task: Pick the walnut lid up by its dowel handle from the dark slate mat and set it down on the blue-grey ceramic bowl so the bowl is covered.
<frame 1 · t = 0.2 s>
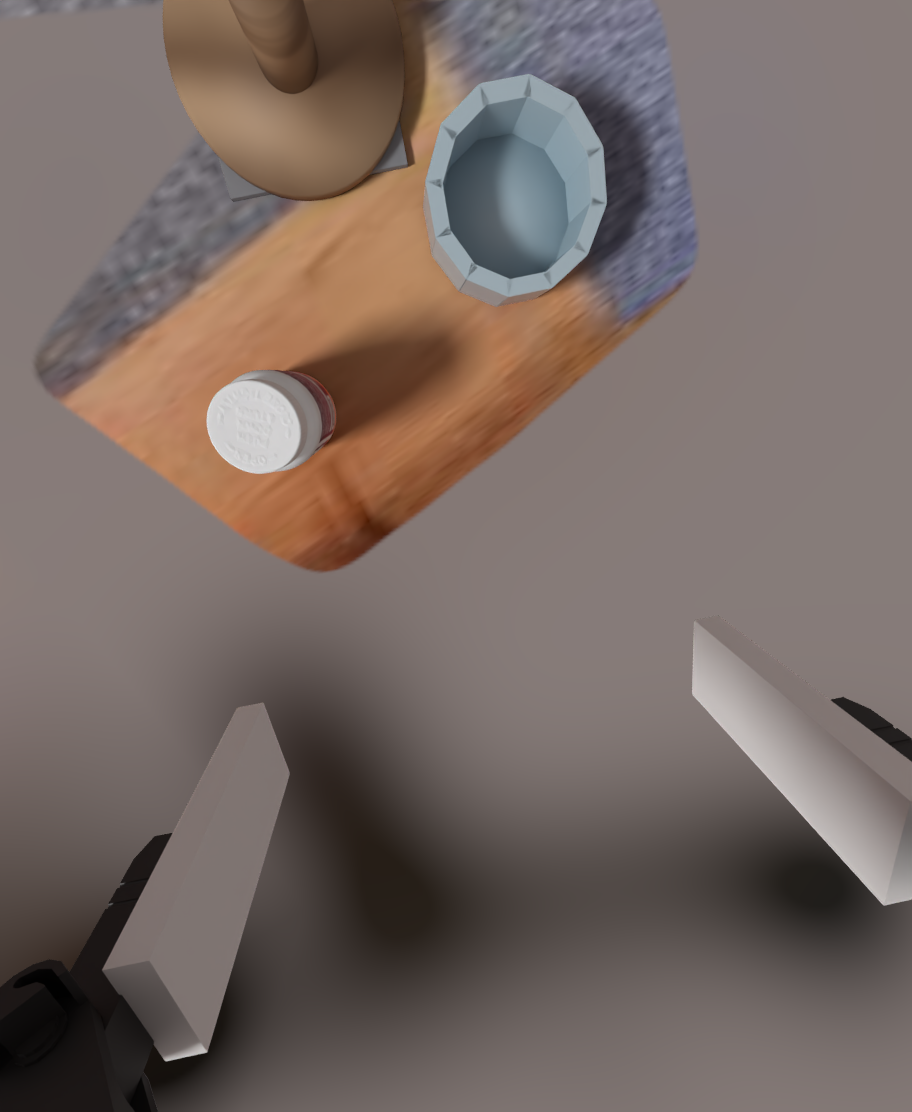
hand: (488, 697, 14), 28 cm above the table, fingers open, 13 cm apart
pill bottle: (297, 413, 37), on the table
lid: (291, 66, 30), resting on mat
mat: (292, 70, 30), on the table
bowl: (502, 218, 34), on the table
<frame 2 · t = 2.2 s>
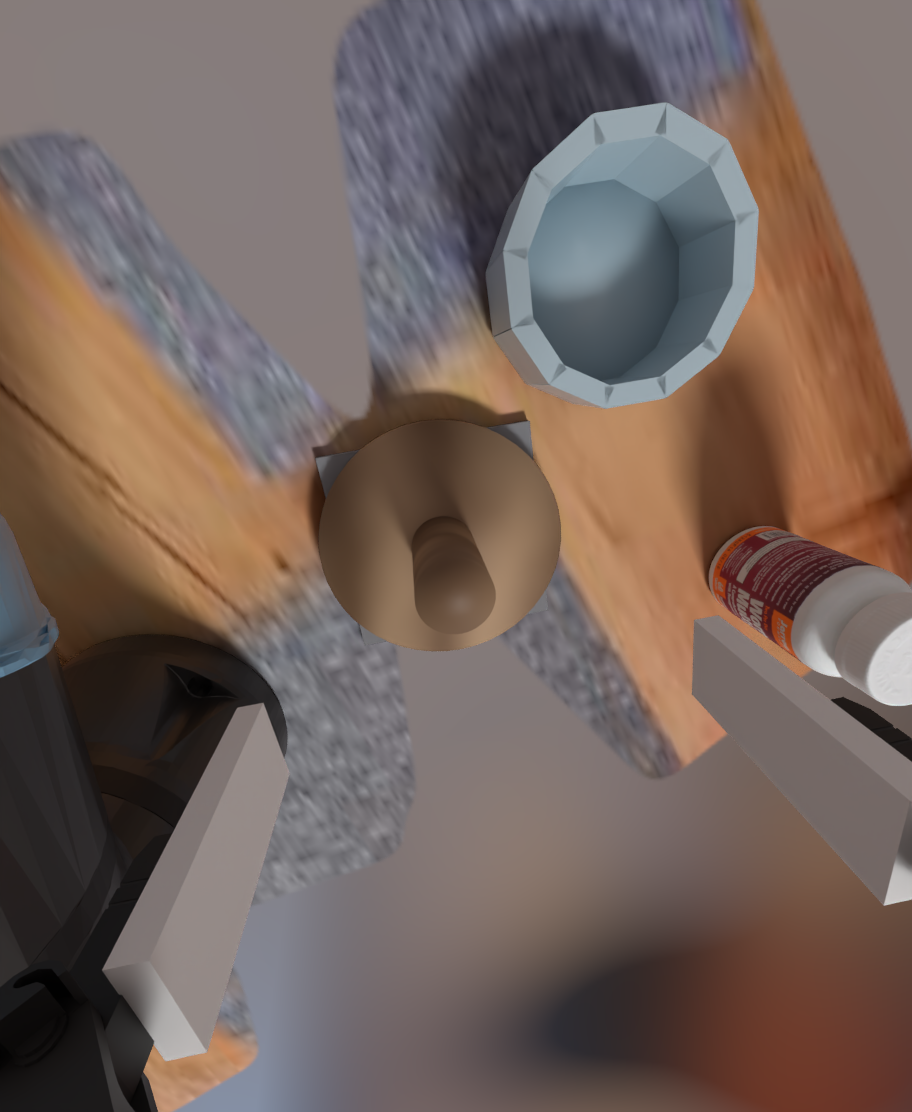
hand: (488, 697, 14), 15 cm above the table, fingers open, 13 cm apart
pill bottle: (747, 566, 32), on the table
lid: (441, 540, 28), resting on mat
mat: (441, 538, 29), on the table
bowl: (590, 290, 25), on the table
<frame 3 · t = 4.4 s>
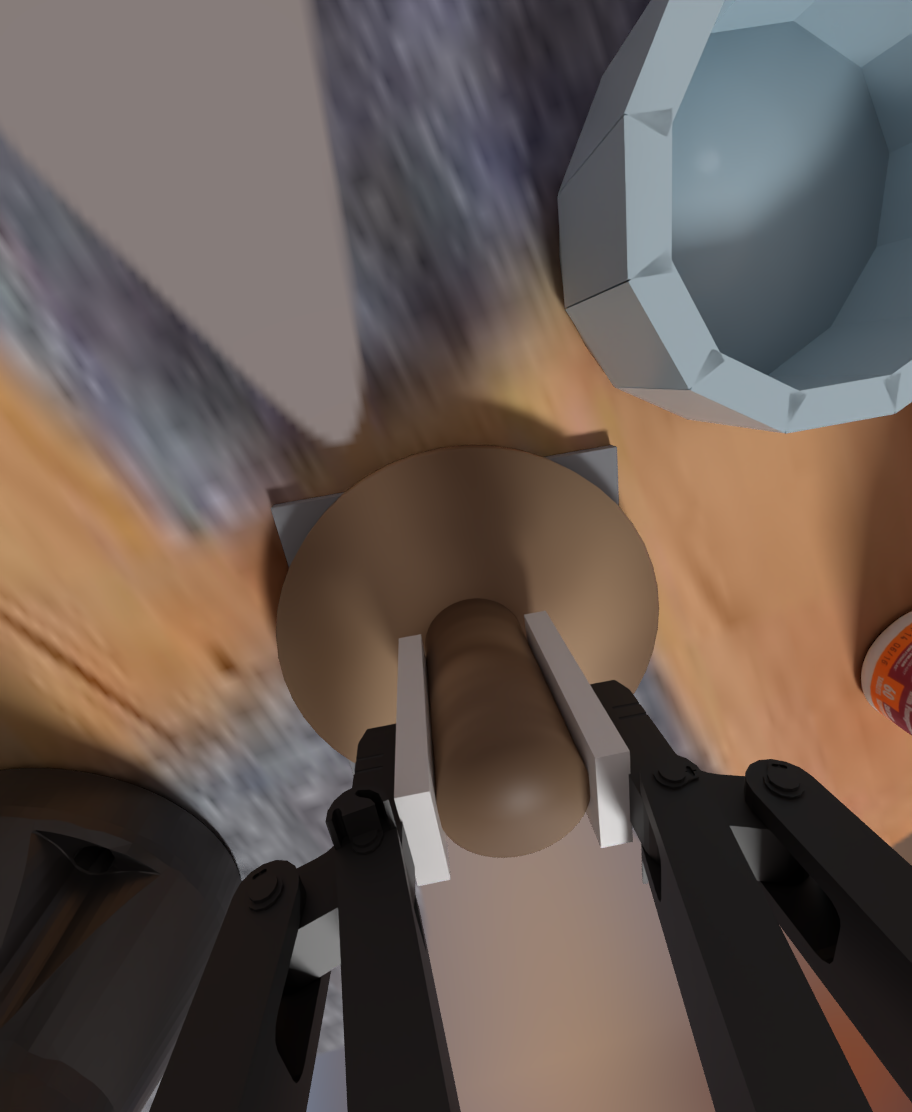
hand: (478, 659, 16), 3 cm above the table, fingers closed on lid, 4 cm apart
lid: (470, 629, 18), point 1 cm above the table, touching gripper, mat
mat: (469, 623, 19), on the table
bowl: (727, 230, 15), on the table
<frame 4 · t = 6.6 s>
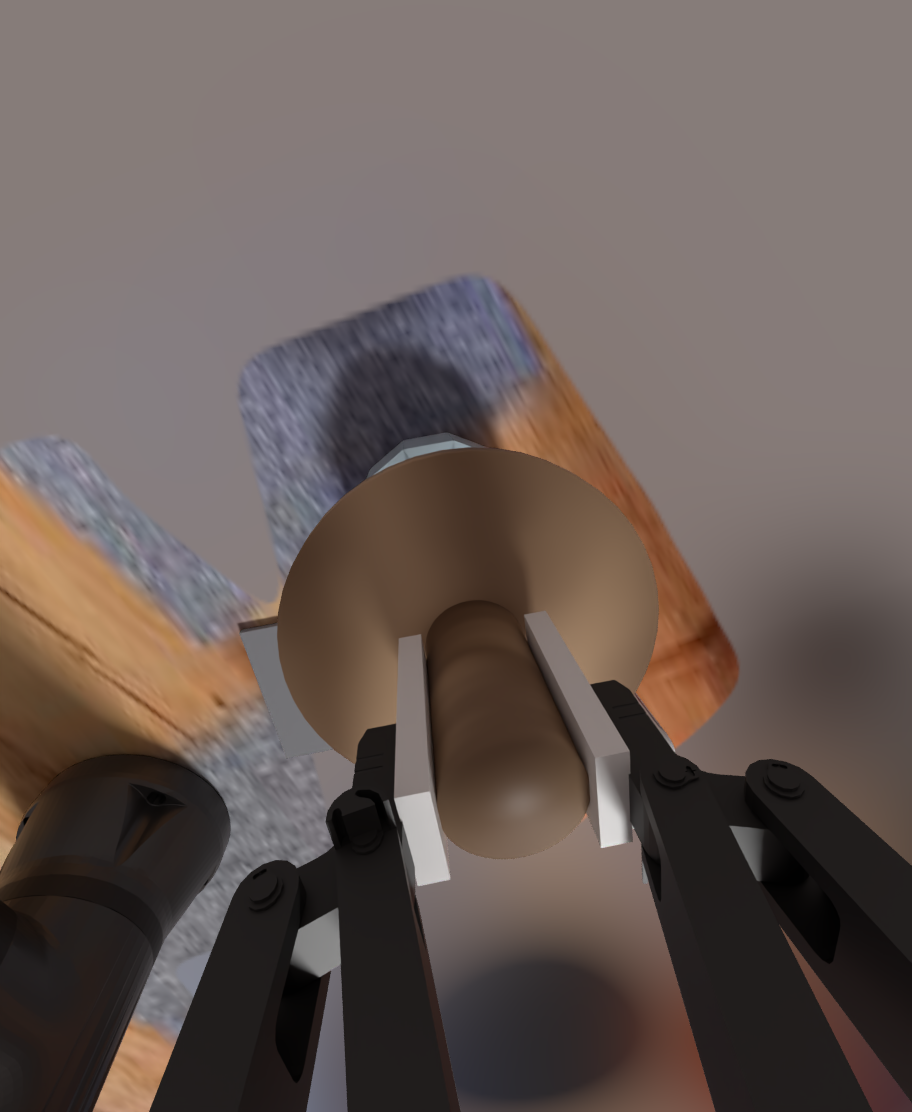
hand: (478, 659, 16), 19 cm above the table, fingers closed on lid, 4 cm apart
lid: (471, 630, 18), point 17 cm above the table, touching gripper
mat: (341, 680, 38), on the table
bowl: (439, 513, 34), on the table
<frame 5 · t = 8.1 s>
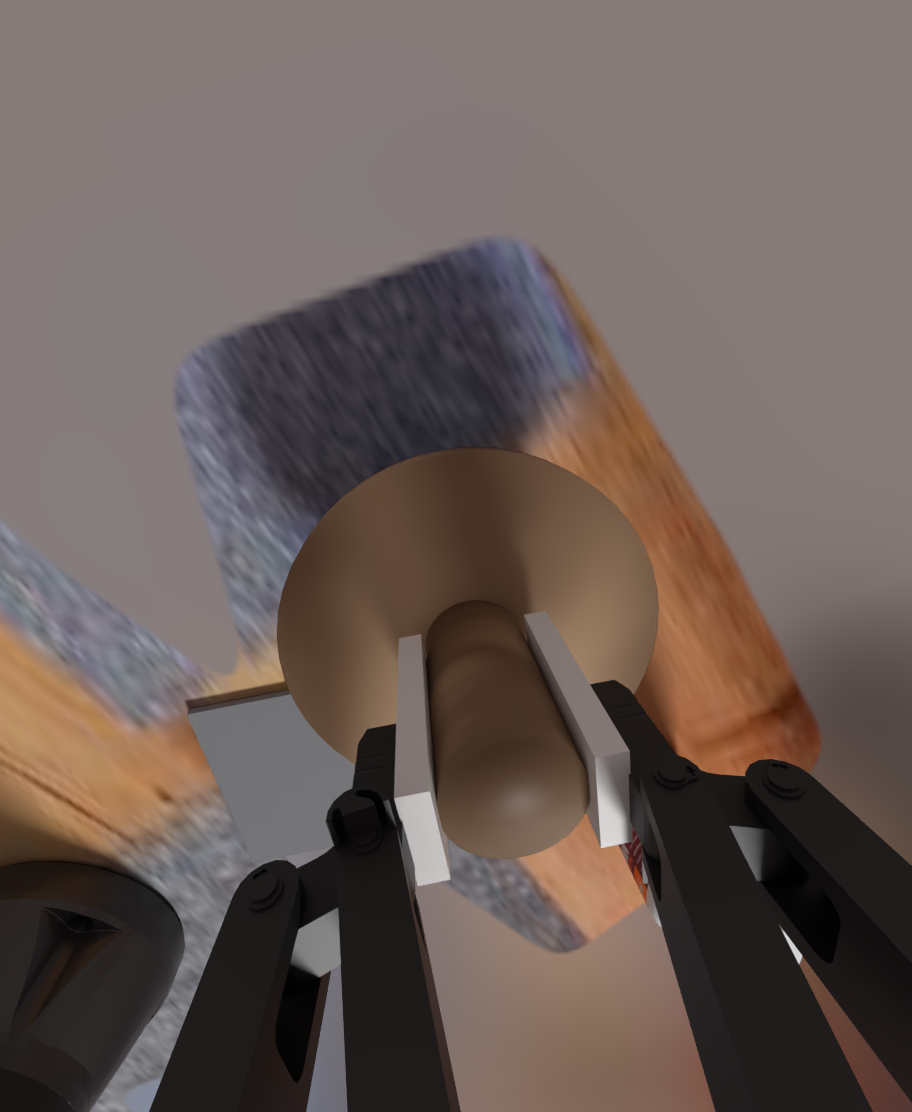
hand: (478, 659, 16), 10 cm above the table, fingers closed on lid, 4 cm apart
pill bottle: (635, 773, 33), on the table
lid: (470, 630, 18), point 8 cm above the table, touching gripper
mat: (322, 768, 29), on the table
when the fingers open (8 cm above the table, at t = 9.1 s): lid stays where it is, resting on bowl.
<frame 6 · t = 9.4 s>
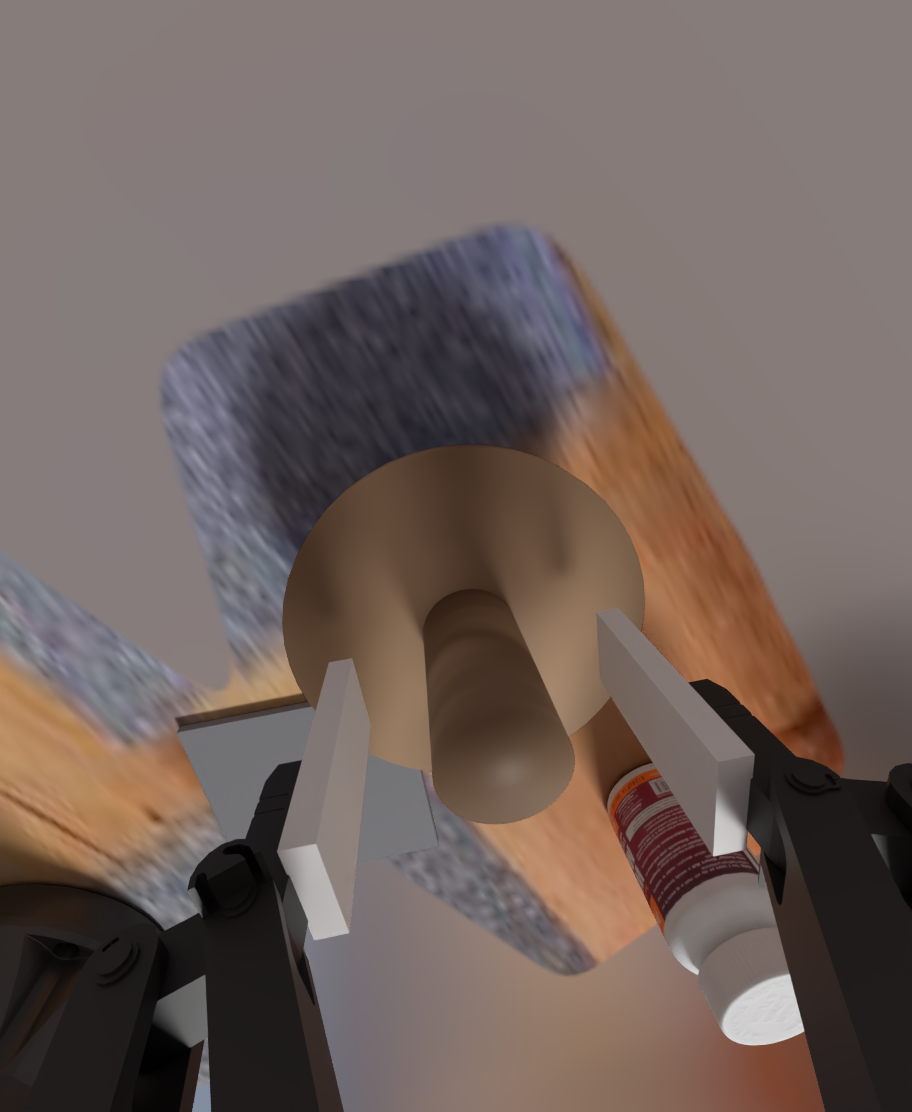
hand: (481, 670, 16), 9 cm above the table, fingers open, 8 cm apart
pill bottle: (649, 792, 31), on the table
lid: (466, 619, 19), point 5 cm above the table, touching bowl
mat: (320, 787, 28), on the table
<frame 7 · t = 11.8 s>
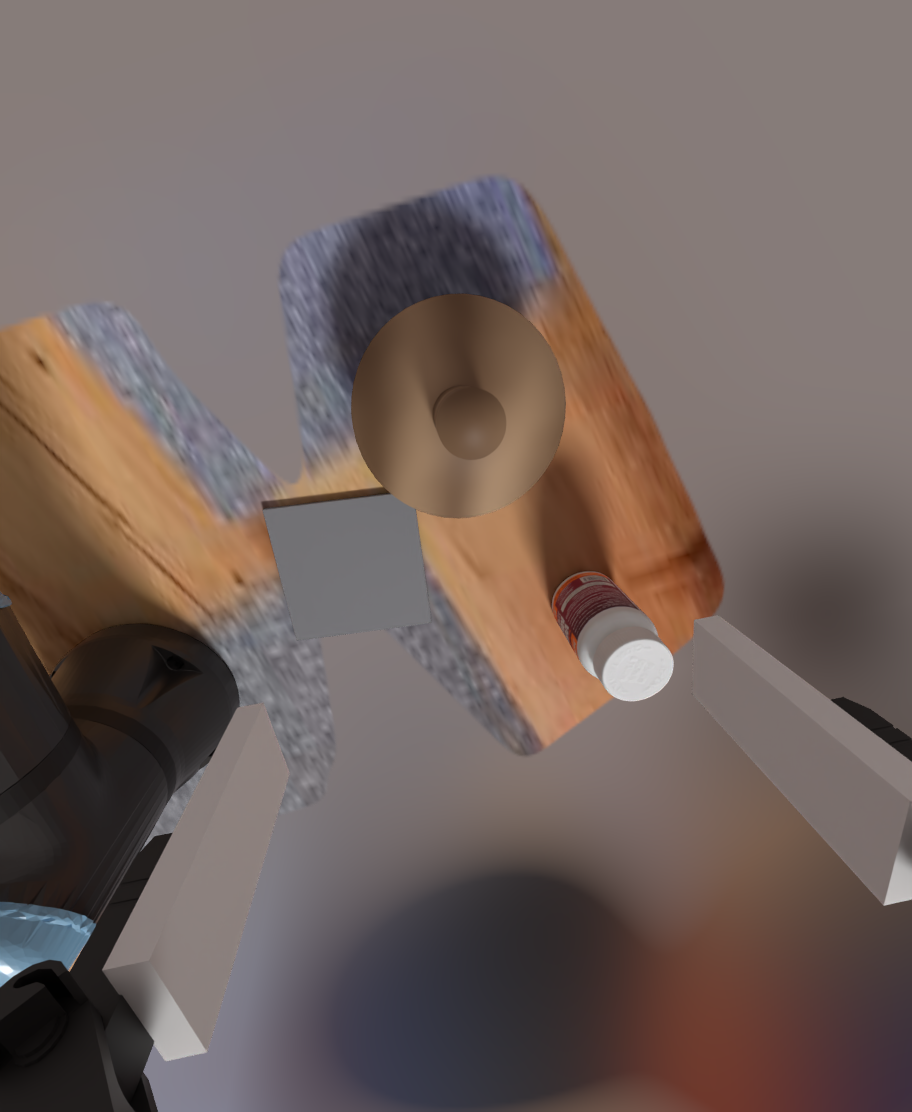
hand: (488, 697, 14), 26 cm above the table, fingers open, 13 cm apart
pill bottle: (582, 599, 44), on the table
lid: (458, 413, 32), point 5 cm above the table, touching bowl
mat: (352, 567, 40), on the table
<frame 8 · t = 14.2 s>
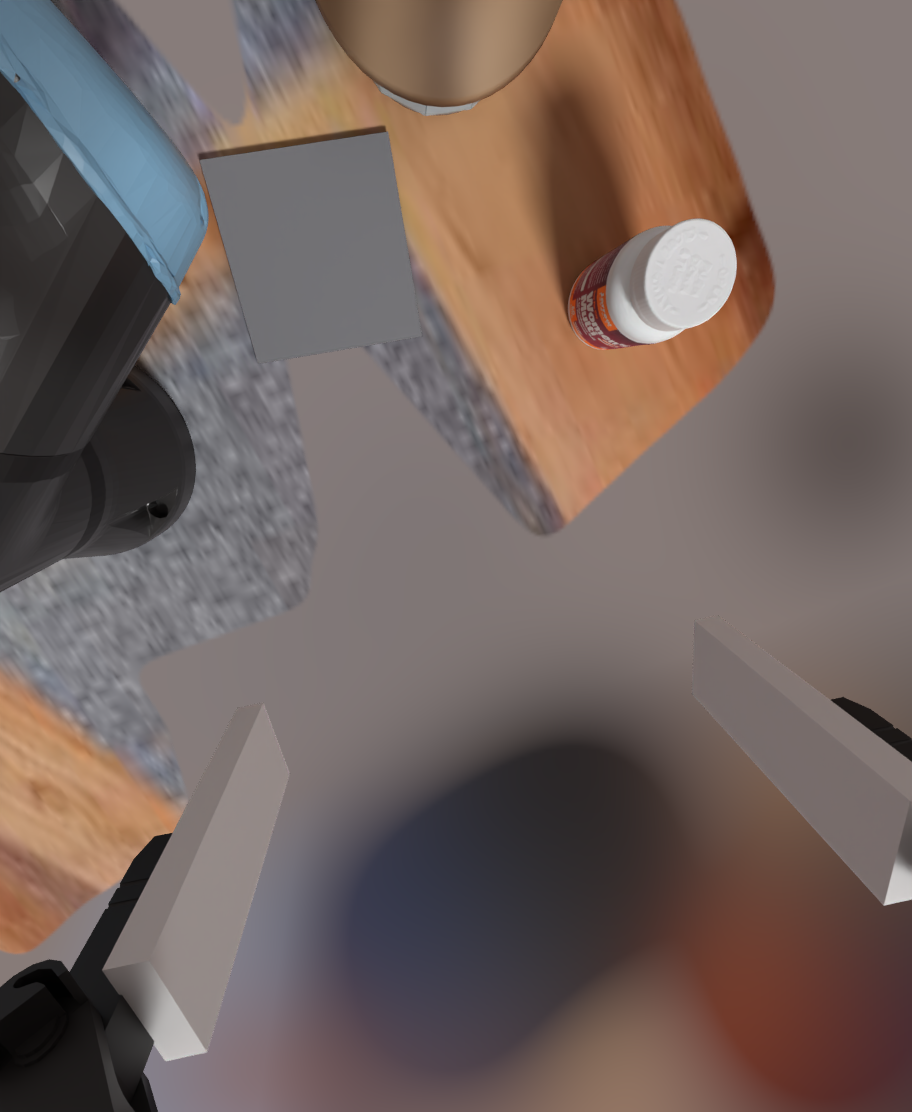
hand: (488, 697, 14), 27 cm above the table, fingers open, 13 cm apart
pill bottle: (604, 306, 36), on the table
mat: (320, 256, 33), on the table
bowl: (433, 2, 29), on the table
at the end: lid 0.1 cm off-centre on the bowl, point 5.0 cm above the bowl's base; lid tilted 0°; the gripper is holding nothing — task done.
